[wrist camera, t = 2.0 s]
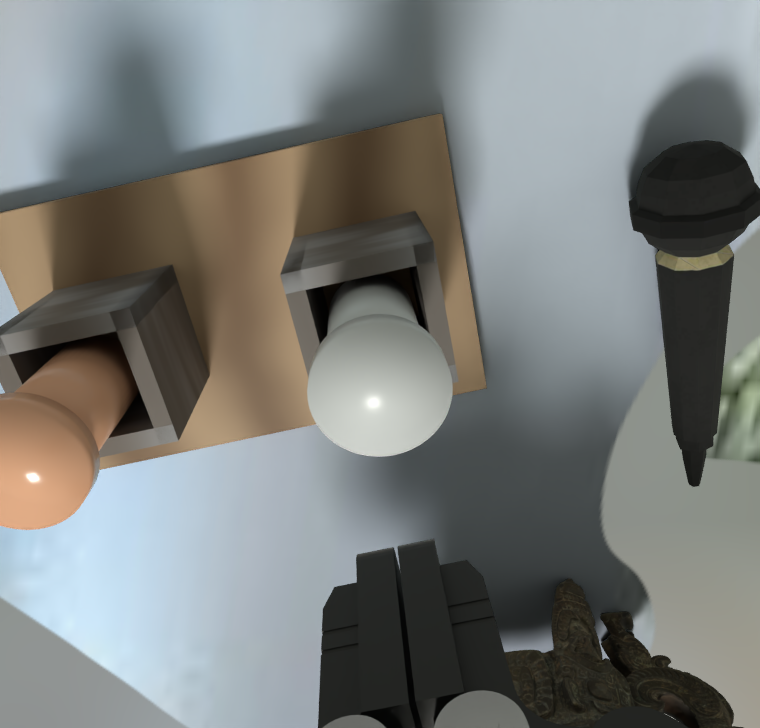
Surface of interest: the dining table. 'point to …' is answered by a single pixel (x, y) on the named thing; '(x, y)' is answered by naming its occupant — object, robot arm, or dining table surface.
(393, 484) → the dining table surface
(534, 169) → the dining table surface
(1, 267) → the board
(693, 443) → the microphone
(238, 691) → the dining table surface
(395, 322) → the white bulb-shaped plug
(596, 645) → the vessel
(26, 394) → the terracotta plug
